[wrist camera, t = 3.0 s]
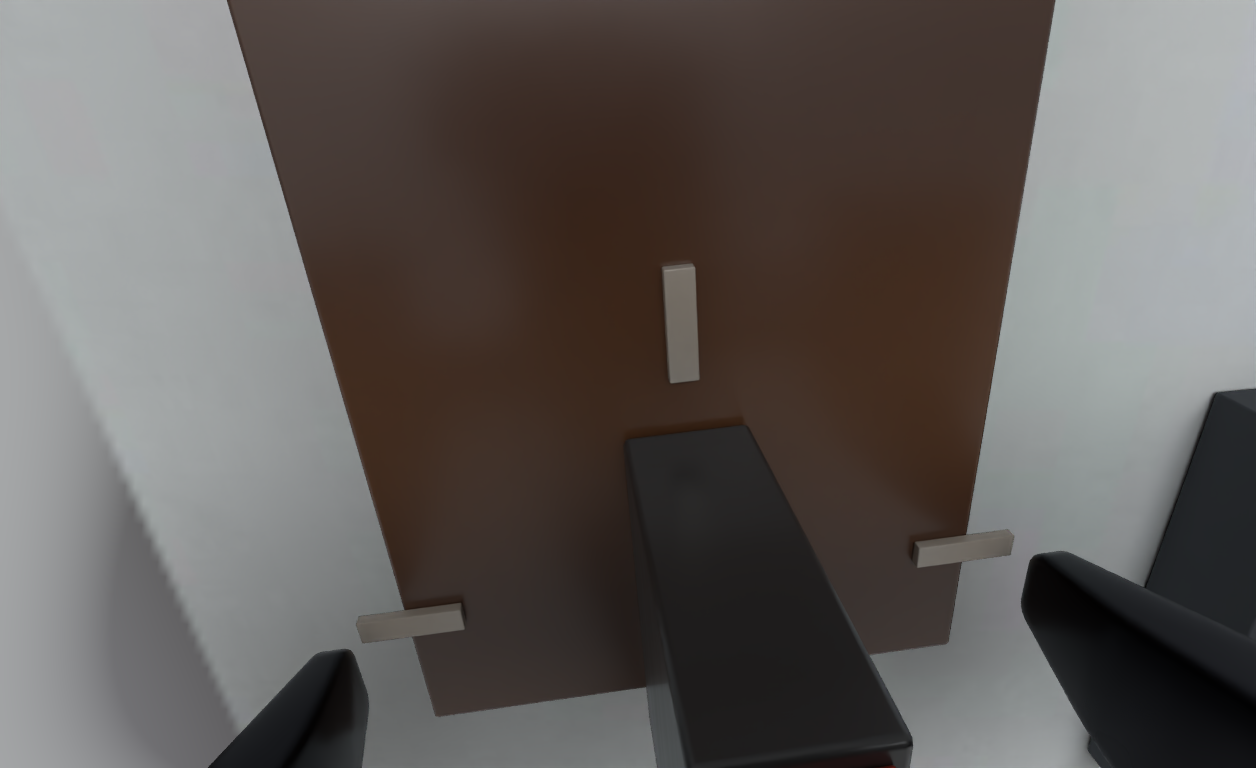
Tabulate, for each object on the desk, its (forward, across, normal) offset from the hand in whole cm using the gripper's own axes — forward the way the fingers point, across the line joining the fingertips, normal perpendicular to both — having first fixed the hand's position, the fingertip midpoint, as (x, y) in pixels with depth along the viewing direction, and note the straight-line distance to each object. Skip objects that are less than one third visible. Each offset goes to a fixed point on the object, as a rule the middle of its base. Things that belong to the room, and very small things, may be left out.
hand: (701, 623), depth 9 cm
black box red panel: (+1, 0, 0) cm, 1 cm away
